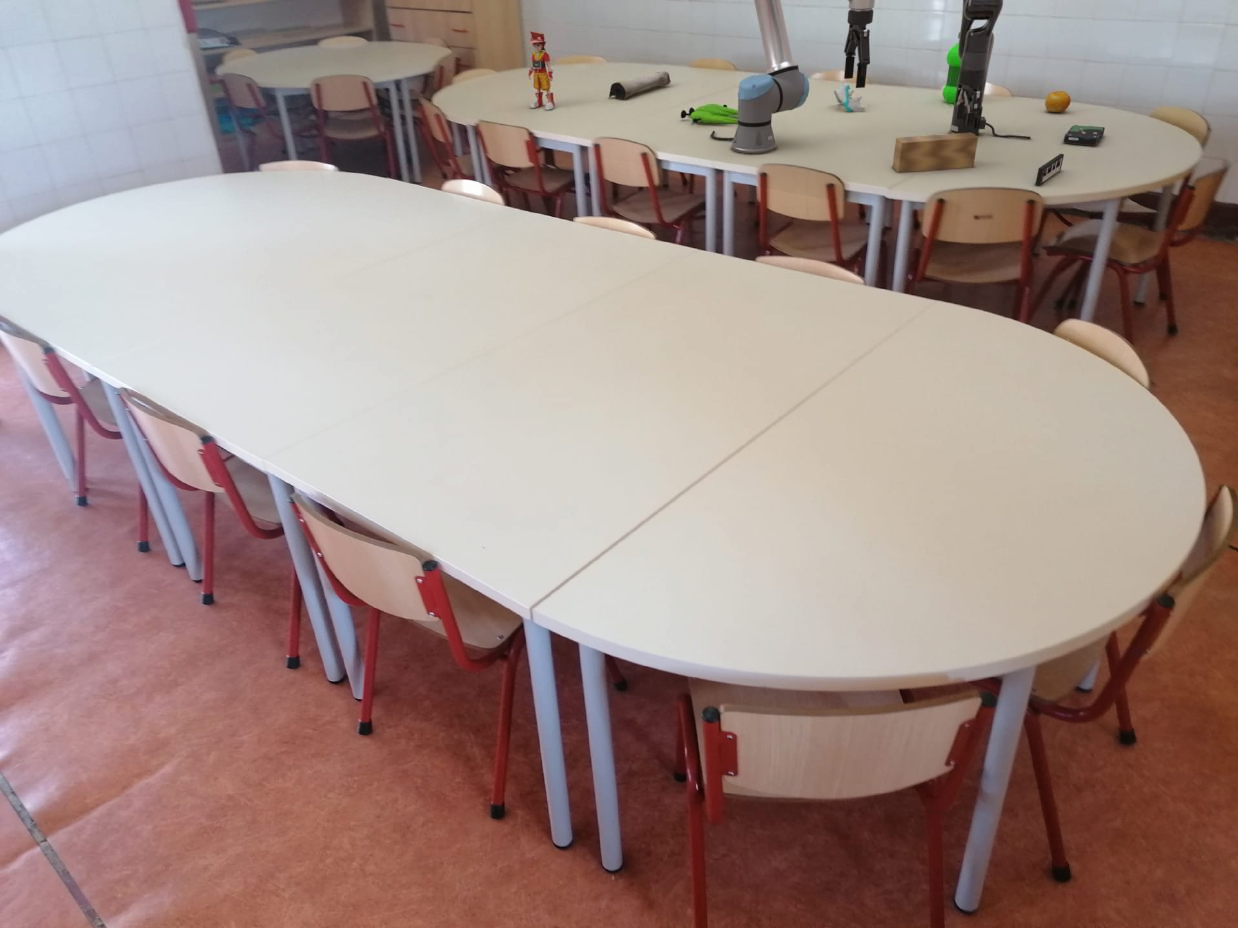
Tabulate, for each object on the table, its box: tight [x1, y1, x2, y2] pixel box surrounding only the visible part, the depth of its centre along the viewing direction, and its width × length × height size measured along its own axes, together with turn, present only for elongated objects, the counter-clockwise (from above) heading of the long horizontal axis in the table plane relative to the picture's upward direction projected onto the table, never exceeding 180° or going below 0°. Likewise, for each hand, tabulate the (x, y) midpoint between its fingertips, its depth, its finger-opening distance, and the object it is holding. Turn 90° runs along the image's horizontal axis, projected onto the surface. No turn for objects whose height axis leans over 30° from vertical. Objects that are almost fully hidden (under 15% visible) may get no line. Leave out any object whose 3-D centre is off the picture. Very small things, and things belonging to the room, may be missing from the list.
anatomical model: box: [833, 81, 867, 113], centre depth 353 cm, size 15×10×10 cm
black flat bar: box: [1035, 153, 1065, 186], centre depth 273 cm, size 18×1×5 cm, turn 138°
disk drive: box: [1063, 124, 1106, 146], centre depth 304 cm, size 10×3×15 cm
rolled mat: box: [608, 71, 672, 101], centre depth 395 cm, size 30×9×10 cm
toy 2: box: [680, 103, 738, 124], centre depth 349 cm, size 28×5×30 cm
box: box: [892, 133, 979, 173], centre depth 287 cm, size 24×6×9 cm, turn 93°
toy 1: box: [527, 31, 556, 111], centre depth 374 cm, size 12×9×30 cm
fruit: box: [1044, 90, 1072, 113], centre depth 334 cm, size 8×8×8 cm
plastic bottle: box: [942, 31, 961, 104], centre depth 348 cm, size 10×10×25 cm
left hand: (854, 83), depth 286 cm, fingers open, 13 cm apart
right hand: (964, 122), depth 282 cm, fingers open, 8 cm apart
